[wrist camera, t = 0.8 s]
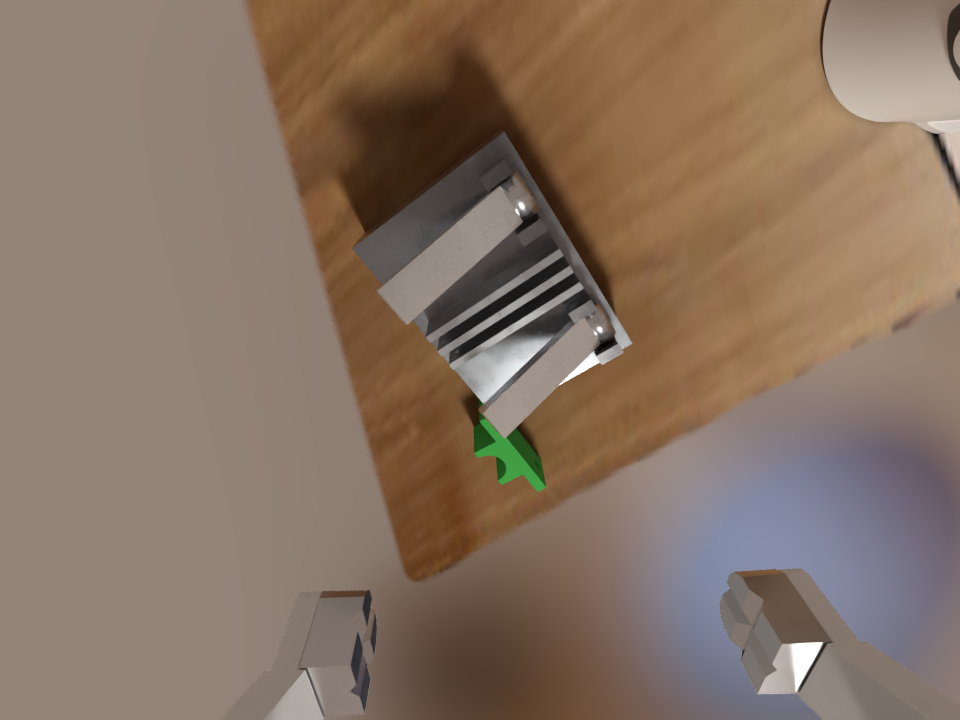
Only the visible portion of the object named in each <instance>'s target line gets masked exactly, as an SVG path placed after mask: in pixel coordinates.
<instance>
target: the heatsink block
mask: <svg viewBox="0 0 960 720" xmlns="http://www.w3.org/2000/svg"><path fill="white" fill-rule="evenodd" d="M515 171H518V173H519V174H520V176H521V178H522V179H523V181H524V182H525V184H526V186H527V187H528V189H529V191H530V192H531V194H532V195H533V197H534V199H535V200H536V202H537V204H538V205H539V207H540V210H539V211H538V212H537V213H536V214H535V215H534V216H532V217H531V218H530V219H528V220H526V221H524V222H523V223H521V224H520V225H519V226H518V227H517V228H516V229H515V230H514V231H512V232H511V233H510V234H509V235H508V236H507V237H506V238H505V239H503V240H502V241H501V242H500V243H499V244H498V245H497V246H496V247H494V248H493V249H492V250H491V251H490V252H489V253H488V254H486V255H485V256H484V257H483V258H482V259H481V260H480V261H479V262H477V263H476V264H475V265H474V266H473V267H472V268H471V269H470V270H468V271H467V272H466V273H465V274H464V275H463V276H462V277H461V278H459V279H458V280H457V281H456V282H455V283H454V284H453V285H452V286H450V287H449V288H448V289H447V290H446V291H445V292H444V293H443V294H441V295H440V296H439V297H438V298H437V299H436V300H435V301H434V302H432V303H431V304H430V305H429V306H428V307H427V308H426V309H425V310H423V311H422V312H421V313H420V314H419V315H418V316H417V317H416V318H414V319H413V321H414V322H415V323H416V325H417V326H418V327H419V328H420V329H421V331H422V332H423V333H424V334H425V335H426V339H427V340H428V341H429V342H430V343H431V342H432V344H433V345H434V346H435V347H436V348H437V349H438V350H437V352H438V353H439V354H440V355H441V356H443V357H444V358H445V359H446V360H447V361H448V362H449V366H450V367H451V368H452V369H453V370H455V371H456V372H457V373H458V374H459V375H460V377H461V378H462V379H463V380H464V381H465V383H466V384H467V385H468V386H469V387H470V388H471V390H472V391H473V392H474V393H475V394H476V396H477V397H478V398H479V399H480V400H481V401H482V403H483V404H484V403H485V402H486V401H487V400H488V399H489V398H490V397H491V396H492V395H493V394H494V393H495V392H496V391H497V390H499V389H500V388H501V387H502V386H503V385H504V384H505V383H506V382H507V381H508V380H509V379H510V378H511V377H512V376H513V375H514V374H515V373H516V372H517V371H518V370H519V369H520V368H521V367H522V366H524V365H525V364H526V363H527V362H528V361H529V360H530V359H531V358H532V357H533V356H534V355H535V354H536V353H537V352H538V351H539V350H540V349H541V348H542V347H543V346H544V345H545V344H546V343H547V342H548V341H550V340H551V339H552V338H553V337H554V336H555V335H556V334H557V333H558V332H559V331H560V330H561V329H562V328H563V327H564V326H565V325H566V324H567V323H568V322H569V321H570V320H571V319H572V320H573V322H574V323H576V322H578V321H579V320H581V319H583V318H584V317H586V316H588V315H589V314H591V313H593V312H594V311H596V310H597V309H596V307H595V305H594V304H593V302H598V303H599V305H600V306H601V308H602V309H603V311H604V313H605V314H606V316H607V318H608V319H609V321H610V322H611V324H612V326H613V327H614V329H615V331H616V334H615V336H614V337H613V338H612V339H611V340H609V341H608V342H605V343H602V344H600V345H599V346H598V347H597V348H596V349H595V350H594V351H593V352H592V353H591V354H590V355H589V356H588V357H587V358H586V359H585V360H584V361H583V362H582V363H581V364H580V365H579V366H578V367H577V368H576V369H575V370H574V371H573V372H572V373H571V374H570V375H569V376H568V377H567V378H566V379H565V380H564V381H563V382H562V383H564V382H566V381H568V380H569V379H571V378H573V377H575V376H576V375H578V374H580V373H582V372H583V371H585V370H587V369H589V368H590V367H592V366H594V365H596V364H597V363H599V362H600V363H601V364H602V365H603V364H605V363H606V362H608V361H610V360H612V359H613V358H615V357H617V356H619V355H620V354H622V353H624V352H623V350H622V349H624V348H625V347H627V346H629V345H631V344H632V342H631V340H630V339H629V337H628V335H627V334H626V332H625V330H624V329H623V327H622V325H621V324H620V322H619V321H618V319H617V317H616V316H615V314H614V312H613V311H612V309H611V307H610V306H609V304H608V302H607V301H606V299H605V297H604V296H603V294H602V292H601V291H600V289H599V287H598V286H597V284H596V282H595V281H594V279H593V277H592V276H591V274H590V272H589V271H588V269H587V267H586V266H585V264H584V262H583V261H582V259H581V258H580V256H579V254H578V253H577V251H576V249H575V248H574V246H573V244H572V243H571V241H570V239H569V238H568V236H567V234H566V233H565V231H564V229H563V228H562V226H561V224H560V223H559V221H558V219H557V218H556V216H555V214H554V213H553V211H552V209H551V208H550V206H549V204H548V203H547V201H546V200H545V198H544V196H543V195H542V193H541V191H540V190H539V188H538V186H537V185H536V183H535V181H534V180H533V178H532V176H531V175H530V173H529V171H528V170H527V168H526V166H525V165H524V163H523V161H522V160H521V158H520V156H519V155H518V153H517V151H516V150H515V148H514V146H513V145H512V143H511V142H510V140H509V138H508V137H507V135H506V133H505V132H504V131H503V130H502V129H501V128H500V129H499V130H497V131H496V132H495V133H493V134H492V135H491V136H490V137H488V138H487V139H486V140H484V141H483V142H482V143H480V144H479V145H478V146H477V147H475V148H474V149H473V150H471V151H470V152H469V153H467V154H466V155H465V156H464V157H462V158H461V159H460V160H458V161H457V162H456V163H454V164H453V165H452V166H451V167H449V168H448V169H447V170H445V171H444V172H443V173H442V174H440V175H439V176H438V177H436V178H435V179H434V180H432V181H431V182H430V183H429V184H427V185H426V186H425V187H423V188H422V189H421V190H419V191H418V192H417V193H416V194H414V195H413V196H412V197H410V198H409V199H408V200H407V201H405V202H404V203H403V204H401V205H400V206H399V207H397V208H396V209H395V210H394V211H392V212H391V213H390V214H388V215H387V216H386V217H384V218H383V219H382V220H381V221H379V222H378V223H377V224H375V225H374V226H373V227H371V228H370V229H369V230H368V231H366V232H365V233H364V234H363V236H362V237H361V238H360V239H359V240H358V242H357V243H356V244H355V245H354V247H353V248H352V249H353V250H354V251H355V253H356V254H357V255H358V256H359V257H360V259H361V260H362V261H363V262H364V263H365V264H366V266H367V267H368V268H369V269H370V270H371V272H372V273H373V274H374V275H375V276H376V277H377V279H378V280H379V281H380V282H381V283H383V282H384V281H386V280H387V279H388V278H389V277H390V276H391V275H393V274H394V273H395V272H396V271H397V270H398V269H400V268H401V267H402V266H403V265H404V264H405V263H407V262H408V261H409V260H410V259H411V258H412V257H414V256H415V255H416V254H417V253H418V252H419V251H421V250H422V249H423V248H424V247H425V246H426V245H428V244H429V243H430V242H431V241H432V240H433V239H435V238H436V237H437V236H438V235H439V234H440V233H442V232H443V231H444V230H445V229H446V228H447V227H449V226H450V225H451V224H452V223H453V222H454V221H456V220H457V219H458V218H459V217H460V216H461V215H463V214H464V213H465V212H466V211H467V210H468V209H470V208H471V207H472V206H473V205H474V204H475V203H477V202H478V201H479V200H480V199H481V198H482V197H484V196H485V195H486V194H487V193H488V192H489V191H491V190H492V189H493V188H494V187H495V186H496V185H497V184H499V183H500V182H501V181H503V180H504V179H505V178H507V177H508V176H510V175H511V174H512V173H513V172H515ZM562 383H561V384H562ZM561 384H560V385H561Z"/></svg>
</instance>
